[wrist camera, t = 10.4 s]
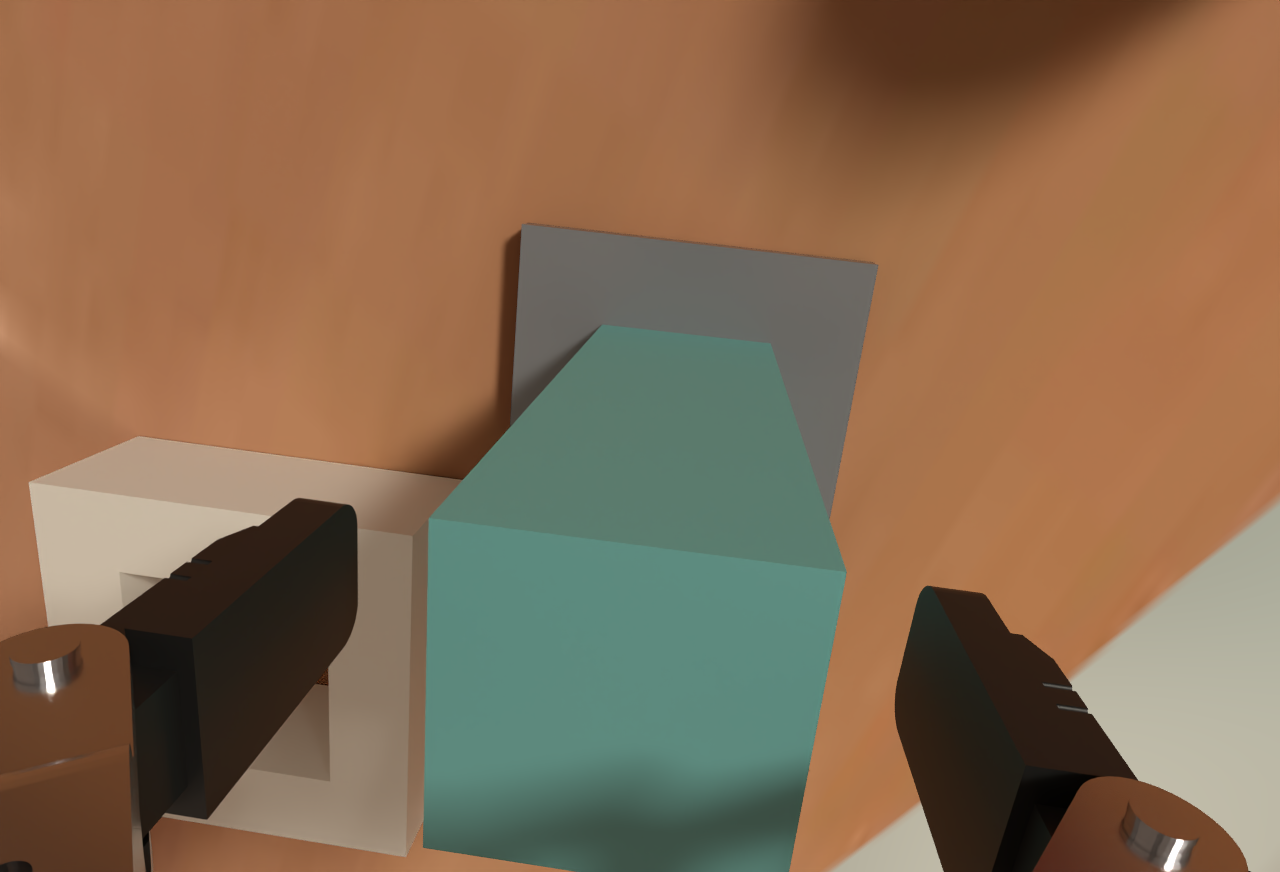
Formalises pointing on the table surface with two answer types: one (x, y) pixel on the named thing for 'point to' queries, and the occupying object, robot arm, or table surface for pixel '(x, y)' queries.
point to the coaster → (699, 315)
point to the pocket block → (358, 677)
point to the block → (632, 619)
